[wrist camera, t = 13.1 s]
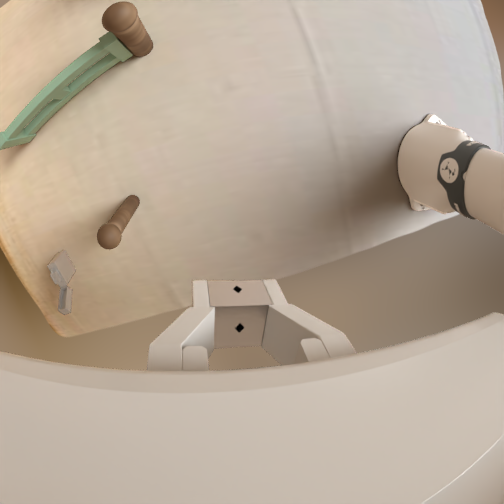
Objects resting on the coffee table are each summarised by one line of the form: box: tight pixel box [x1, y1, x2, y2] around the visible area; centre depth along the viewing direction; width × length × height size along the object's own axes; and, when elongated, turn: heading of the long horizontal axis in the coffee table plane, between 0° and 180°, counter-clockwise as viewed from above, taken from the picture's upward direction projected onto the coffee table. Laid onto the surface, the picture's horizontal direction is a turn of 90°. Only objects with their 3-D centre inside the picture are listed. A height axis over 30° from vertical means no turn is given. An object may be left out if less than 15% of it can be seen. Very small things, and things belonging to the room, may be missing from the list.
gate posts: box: [97, 2, 153, 249], centre depth 25 cm, size 3×25×14 cm, turn 174°
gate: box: [0, 32, 133, 150], centre depth 22 cm, size 2×19×8 cm, turn 118°
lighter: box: [47, 250, 76, 315], centre depth 34 cm, size 7×2×8 cm, turn 15°
